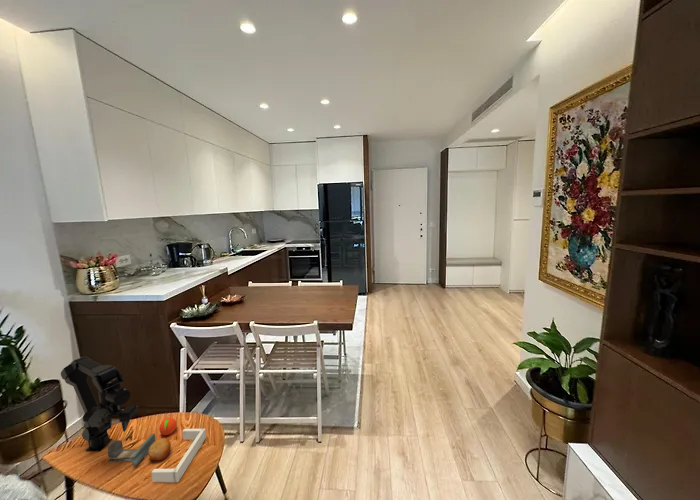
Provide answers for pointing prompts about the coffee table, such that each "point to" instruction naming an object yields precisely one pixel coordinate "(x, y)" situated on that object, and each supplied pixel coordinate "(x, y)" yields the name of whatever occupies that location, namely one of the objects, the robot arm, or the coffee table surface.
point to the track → (123, 459)
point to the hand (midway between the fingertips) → (113, 431)
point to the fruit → (159, 449)
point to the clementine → (167, 426)
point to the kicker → (117, 451)
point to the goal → (177, 473)
